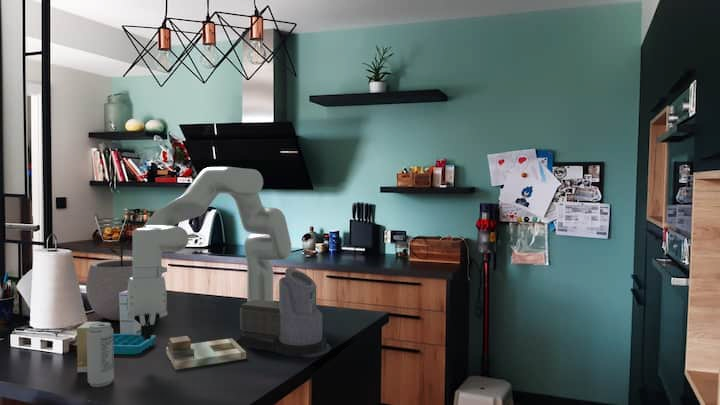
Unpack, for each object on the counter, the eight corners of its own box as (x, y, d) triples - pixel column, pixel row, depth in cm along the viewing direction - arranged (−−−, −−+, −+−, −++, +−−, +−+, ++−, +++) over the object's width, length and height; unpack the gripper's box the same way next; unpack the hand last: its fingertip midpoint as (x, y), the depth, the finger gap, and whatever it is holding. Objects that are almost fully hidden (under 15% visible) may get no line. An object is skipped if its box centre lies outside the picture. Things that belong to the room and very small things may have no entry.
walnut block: (187, 349, 160) (187, 335, 160) (190, 354, 156) (190, 340, 155) (169, 351, 158) (169, 338, 157) (172, 356, 153) (172, 342, 153)
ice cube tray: (140, 356, 161) (139, 346, 161) (73, 354, 162) (73, 344, 162) (157, 344, 172) (157, 335, 172) (95, 342, 174) (95, 333, 173)
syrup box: (135, 337, 179) (135, 292, 178) (119, 335, 180) (118, 292, 179) (145, 332, 184) (145, 289, 184) (130, 331, 186) (129, 288, 185)
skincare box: (86, 364, 152) (85, 321, 152) (102, 364, 153) (102, 321, 152) (76, 373, 146) (75, 327, 145) (93, 372, 146) (92, 327, 146)
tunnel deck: (231, 344, 171) (231, 331, 171) (245, 358, 158) (245, 345, 158) (166, 353, 162) (166, 340, 162) (175, 369, 149) (175, 355, 149)
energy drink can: (100, 377, 143) (99, 320, 142) (119, 380, 141) (118, 322, 140) (82, 386, 137) (81, 326, 136) (101, 389, 135) (101, 328, 134)
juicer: (338, 344, 173) (339, 267, 172) (316, 360, 158) (316, 275, 157) (256, 334, 184) (256, 261, 182) (228, 347, 169) (228, 268, 168)
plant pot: (79, 316, 204) (78, 236, 203) (145, 307, 219) (145, 232, 217) (95, 331, 185) (94, 242, 184) (166, 320, 200) (165, 238, 199)
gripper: (172, 269, 158) (172, 332, 159) (116, 272, 151) (116, 338, 152) (177, 272, 152) (177, 338, 152) (118, 276, 144) (118, 345, 145)
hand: (146, 338), depth 152 cm, fingers closed
